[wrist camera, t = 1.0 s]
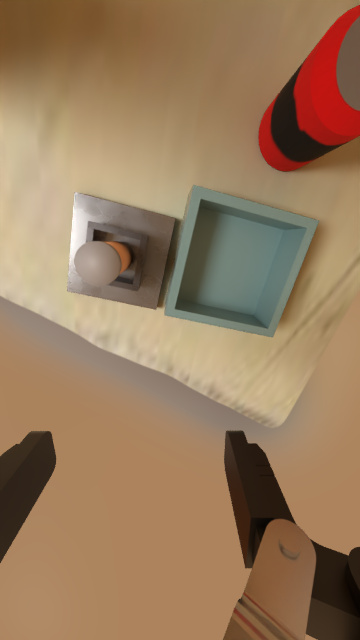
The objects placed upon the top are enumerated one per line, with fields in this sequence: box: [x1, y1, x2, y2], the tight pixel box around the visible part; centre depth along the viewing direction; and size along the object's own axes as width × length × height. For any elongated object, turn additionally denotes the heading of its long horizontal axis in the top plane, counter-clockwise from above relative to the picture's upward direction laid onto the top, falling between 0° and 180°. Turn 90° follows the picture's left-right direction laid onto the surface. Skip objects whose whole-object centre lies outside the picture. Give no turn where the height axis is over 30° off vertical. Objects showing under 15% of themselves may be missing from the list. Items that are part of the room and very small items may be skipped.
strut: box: [74, 241, 133, 286], centre depth 25 cm, size 4×4×10 cm
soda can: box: [259, 5, 360, 171], centre depth 21 cm, size 8×8×12 cm
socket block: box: [67, 192, 175, 310], centre depth 28 cm, size 12×12×4 cm
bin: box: [165, 185, 319, 337], centre depth 29 cm, size 14×14×6 cm
